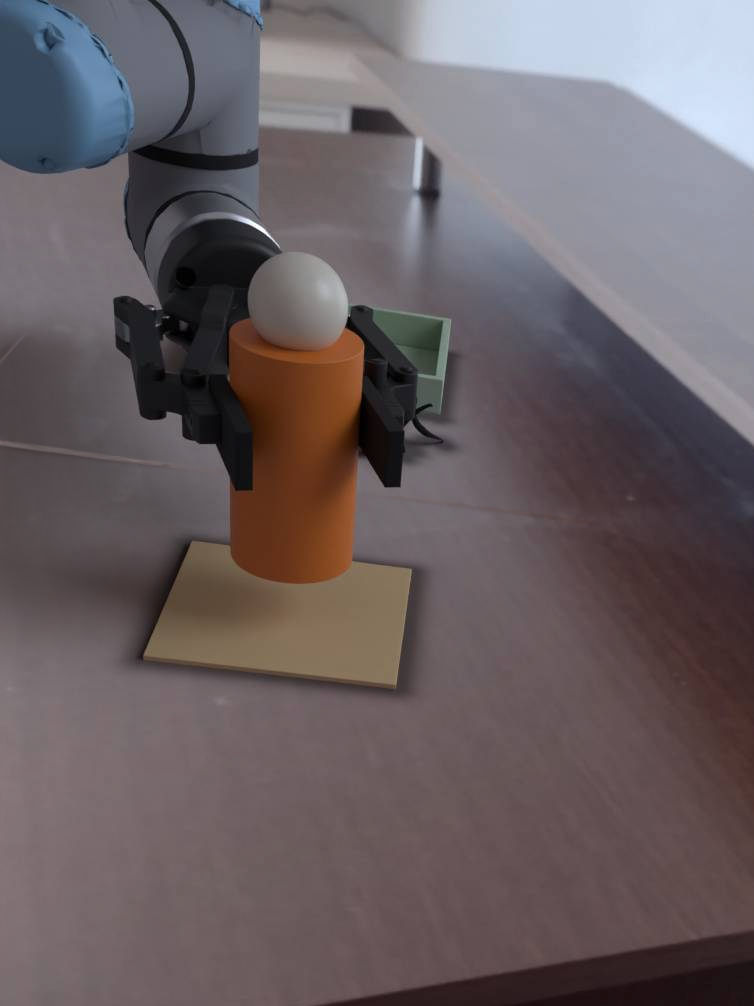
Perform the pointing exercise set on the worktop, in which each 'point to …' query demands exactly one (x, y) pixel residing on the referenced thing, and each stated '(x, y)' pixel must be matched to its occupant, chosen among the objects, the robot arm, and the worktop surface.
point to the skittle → (297, 422)
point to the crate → (419, 349)
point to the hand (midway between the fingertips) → (321, 460)
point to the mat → (284, 621)
